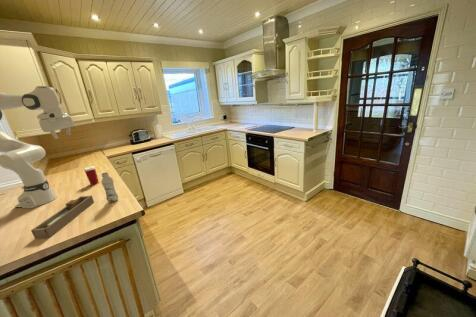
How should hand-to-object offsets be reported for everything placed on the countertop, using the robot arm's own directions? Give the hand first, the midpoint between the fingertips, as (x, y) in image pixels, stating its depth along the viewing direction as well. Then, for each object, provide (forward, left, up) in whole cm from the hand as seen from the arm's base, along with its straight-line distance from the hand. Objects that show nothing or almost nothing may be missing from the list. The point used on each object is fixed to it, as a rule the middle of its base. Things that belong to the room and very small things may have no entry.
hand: (63, 136), depth 127 cm
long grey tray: (+6, -25, -45) cm, 51 cm away
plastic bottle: (+23, -7, -45) cm, 51 cm away
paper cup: (-12, +26, -45) cm, 53 cm away
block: (+6, -18, -42) cm, 46 cm away
